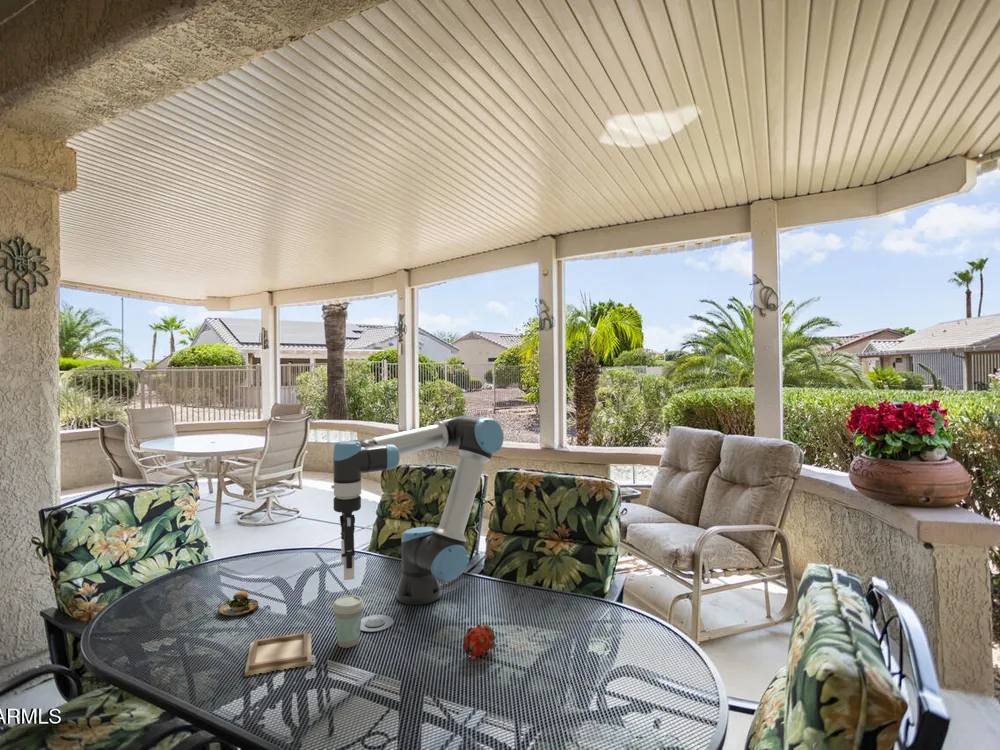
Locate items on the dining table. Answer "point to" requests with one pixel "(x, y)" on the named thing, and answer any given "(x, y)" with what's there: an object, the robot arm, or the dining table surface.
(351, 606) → the coffee cup
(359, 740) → the dining table surface
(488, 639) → the dragon fruit
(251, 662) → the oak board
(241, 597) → the burger
